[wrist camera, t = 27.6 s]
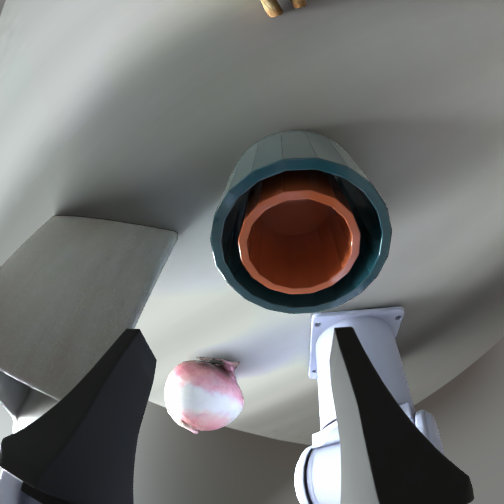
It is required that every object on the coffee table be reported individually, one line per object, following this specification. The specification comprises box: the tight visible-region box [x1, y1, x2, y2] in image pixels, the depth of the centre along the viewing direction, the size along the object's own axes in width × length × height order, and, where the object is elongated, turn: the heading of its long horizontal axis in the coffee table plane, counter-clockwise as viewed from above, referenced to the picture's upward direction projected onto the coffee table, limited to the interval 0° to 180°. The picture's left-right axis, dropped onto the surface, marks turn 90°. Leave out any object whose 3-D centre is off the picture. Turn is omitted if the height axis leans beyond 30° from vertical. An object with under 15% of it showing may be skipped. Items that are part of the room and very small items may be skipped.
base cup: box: [211, 130, 392, 314], centre depth 16 cm, size 8×8×6 cm
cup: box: [238, 169, 361, 294], centre depth 15 cm, size 5×5×6 cm
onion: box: [165, 357, 244, 434], centre depth 26 cm, size 8×8×7 cm
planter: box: [0, 216, 178, 433], centre depth 14 cm, size 16×8×19 cm, turn 126°
